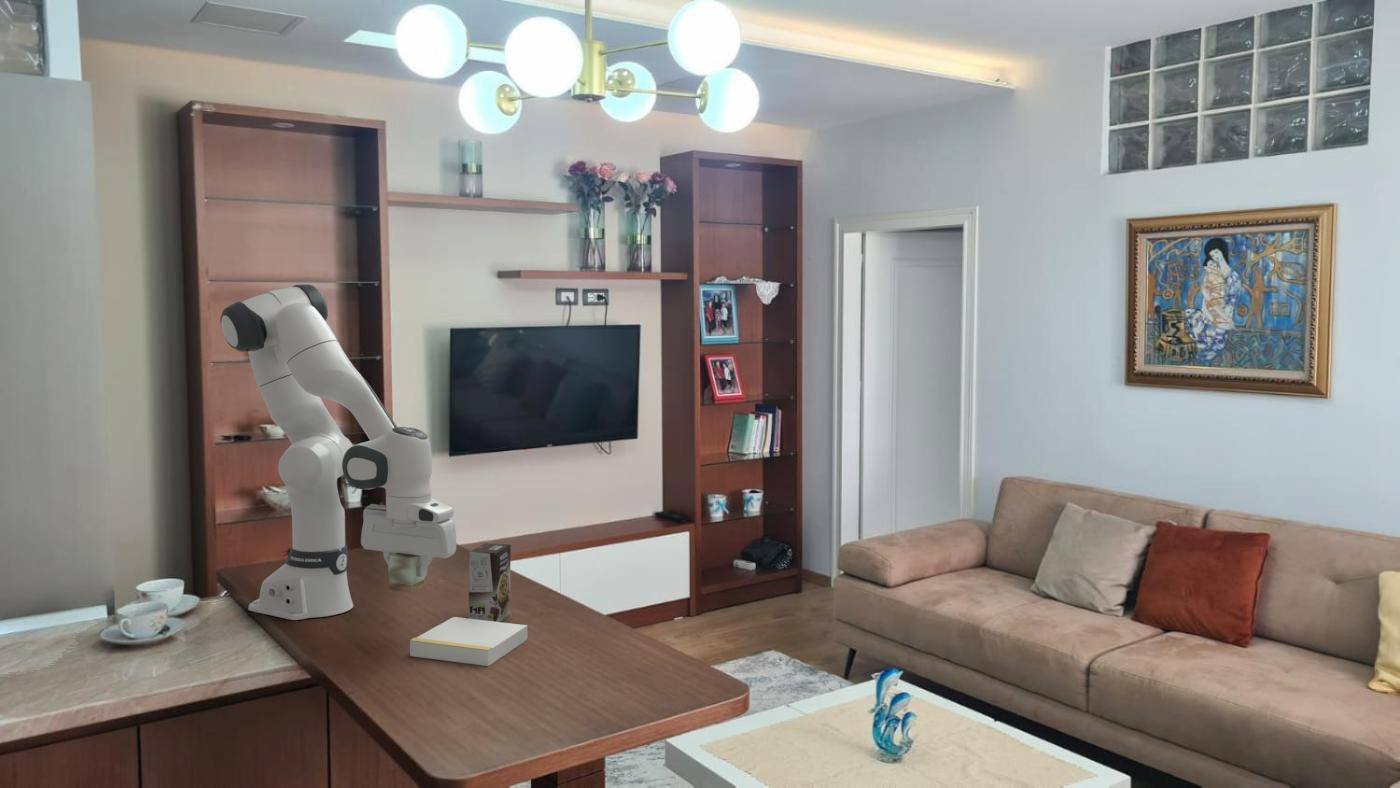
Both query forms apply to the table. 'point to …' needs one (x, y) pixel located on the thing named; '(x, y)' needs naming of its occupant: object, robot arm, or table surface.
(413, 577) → the pale green block
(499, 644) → the block
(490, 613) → the coffee box
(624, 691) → the table surface
